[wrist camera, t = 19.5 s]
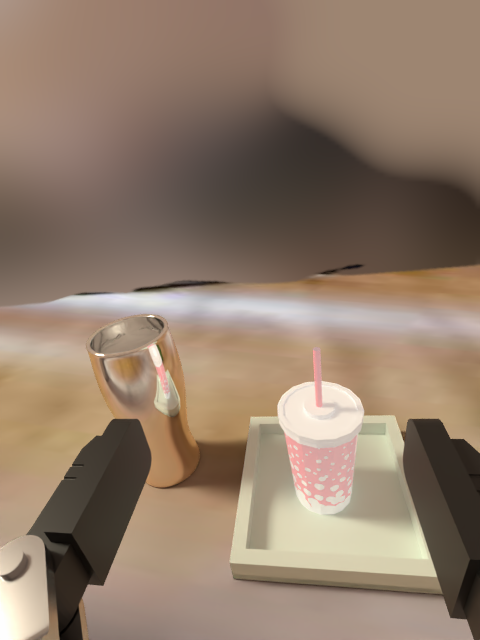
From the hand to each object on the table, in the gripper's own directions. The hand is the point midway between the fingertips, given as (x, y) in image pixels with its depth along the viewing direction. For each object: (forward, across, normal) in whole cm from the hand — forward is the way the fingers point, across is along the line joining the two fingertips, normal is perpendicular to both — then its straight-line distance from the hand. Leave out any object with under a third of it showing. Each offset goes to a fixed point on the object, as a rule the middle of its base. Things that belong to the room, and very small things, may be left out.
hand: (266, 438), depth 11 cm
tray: (+12, -3, +20) cm, 23 cm away
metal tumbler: (+15, +12, +20) cm, 28 cm away
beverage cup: (+12, -2, +19) cm, 23 cm away
